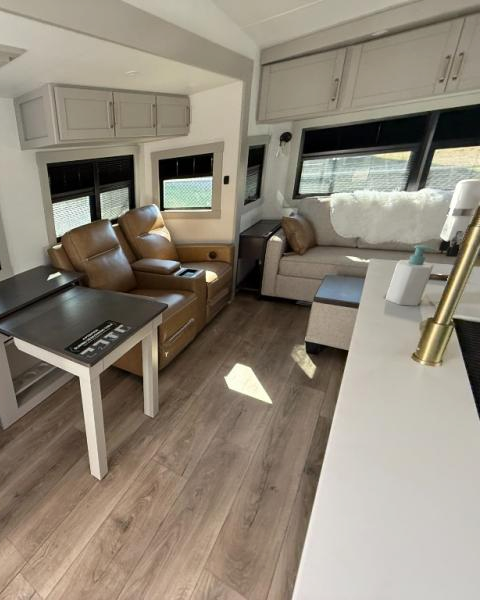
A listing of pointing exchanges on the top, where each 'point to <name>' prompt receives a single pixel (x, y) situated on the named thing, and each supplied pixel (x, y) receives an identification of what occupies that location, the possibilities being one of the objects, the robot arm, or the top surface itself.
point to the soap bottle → (410, 279)
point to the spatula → (438, 277)
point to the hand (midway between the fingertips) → (447, 253)
